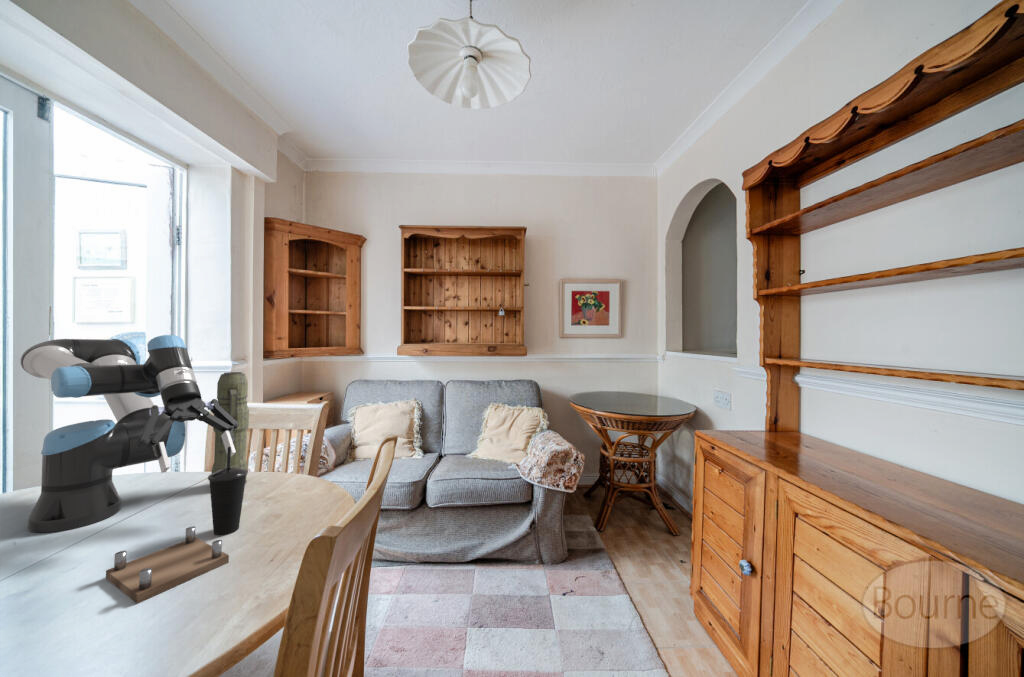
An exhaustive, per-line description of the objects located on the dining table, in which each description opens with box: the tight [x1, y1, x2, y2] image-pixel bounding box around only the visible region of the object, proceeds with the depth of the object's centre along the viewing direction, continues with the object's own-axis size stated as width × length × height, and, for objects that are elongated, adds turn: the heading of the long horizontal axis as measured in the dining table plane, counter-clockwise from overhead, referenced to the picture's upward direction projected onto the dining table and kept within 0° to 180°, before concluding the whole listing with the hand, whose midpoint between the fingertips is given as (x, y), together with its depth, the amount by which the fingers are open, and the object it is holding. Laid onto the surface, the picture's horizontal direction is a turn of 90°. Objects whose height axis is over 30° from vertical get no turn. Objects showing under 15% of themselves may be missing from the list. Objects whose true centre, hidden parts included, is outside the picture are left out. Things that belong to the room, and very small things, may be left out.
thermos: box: [211, 371, 250, 484], centre depth 117 cm, size 9×12×35 cm
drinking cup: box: [207, 447, 249, 537], centre depth 90 cm, size 8×8×20 cm
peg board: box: [105, 525, 230, 605], centre depth 74 cm, size 14×14×4 cm
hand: (201, 462), depth 93 cm, fingers open, 13 cm apart
